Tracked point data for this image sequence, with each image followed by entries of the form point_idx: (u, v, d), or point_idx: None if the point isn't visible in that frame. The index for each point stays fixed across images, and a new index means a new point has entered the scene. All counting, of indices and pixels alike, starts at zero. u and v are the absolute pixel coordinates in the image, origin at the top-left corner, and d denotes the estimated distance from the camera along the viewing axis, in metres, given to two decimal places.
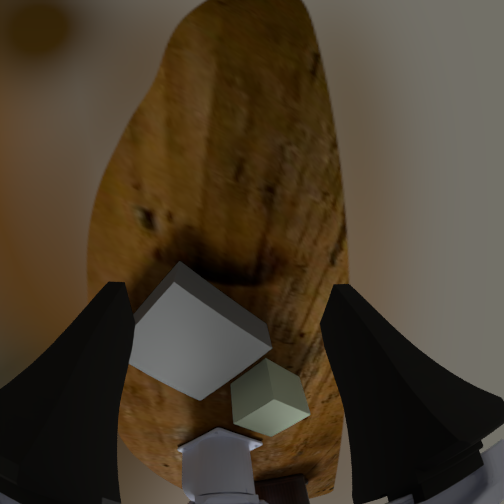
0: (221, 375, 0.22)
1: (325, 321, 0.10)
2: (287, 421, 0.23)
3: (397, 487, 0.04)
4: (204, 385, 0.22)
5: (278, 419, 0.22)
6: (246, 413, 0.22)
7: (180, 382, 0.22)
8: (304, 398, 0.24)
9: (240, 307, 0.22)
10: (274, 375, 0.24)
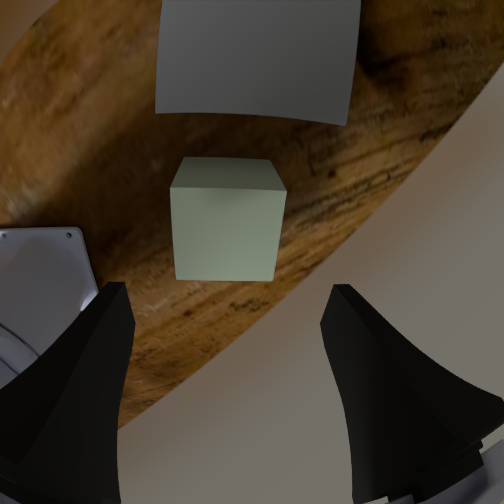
0: (248, 93, 0.11)
1: (325, 321, 0.10)
2: (235, 264, 0.14)
3: (397, 487, 0.04)
4: (203, 87, 0.11)
5: (234, 245, 0.13)
6: (210, 186, 0.12)
7: (182, 52, 0.10)
8: None
9: None
10: None
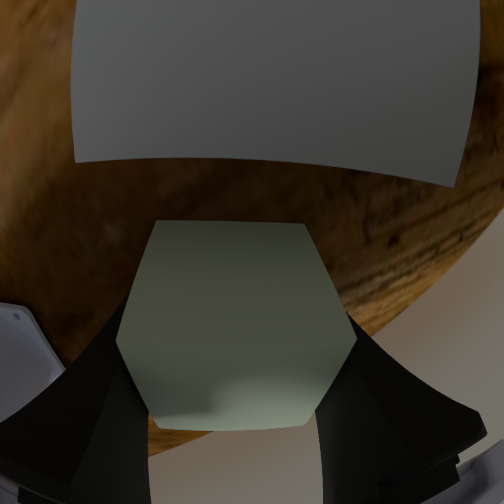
0: (283, 112, 0.05)
1: None
2: (250, 419, 0.08)
3: (361, 500, 0.04)
4: (174, 97, 0.04)
5: (250, 405, 0.07)
6: (200, 336, 0.05)
7: (124, 18, 0.03)
8: None
9: None
10: None
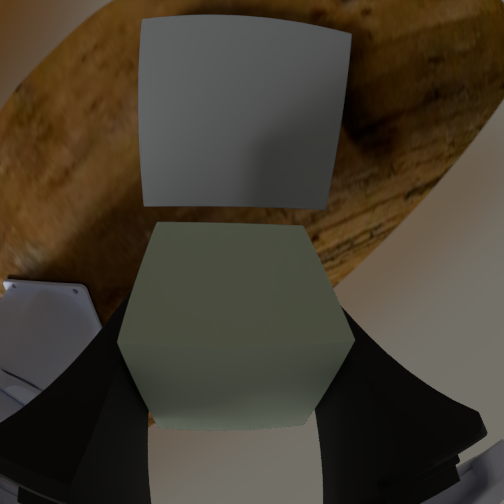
0: (230, 187, 0.13)
1: None
2: (250, 419, 0.08)
3: (361, 500, 0.04)
4: (186, 183, 0.13)
5: (249, 405, 0.07)
6: (201, 338, 0.05)
7: (163, 147, 0.12)
8: None
9: None
10: None
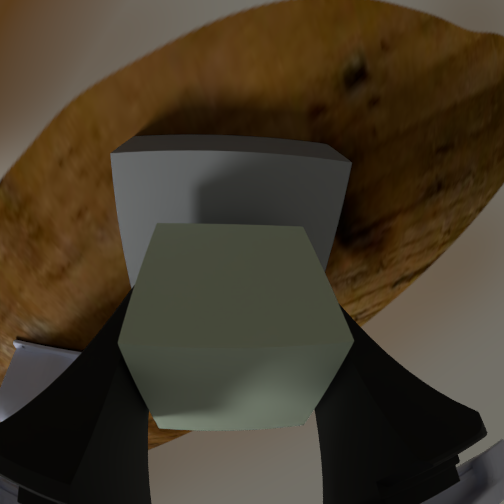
0: None
1: None
2: (250, 419, 0.08)
3: (361, 500, 0.04)
4: None
5: (249, 405, 0.07)
6: (201, 339, 0.06)
7: None
8: None
9: None
10: None
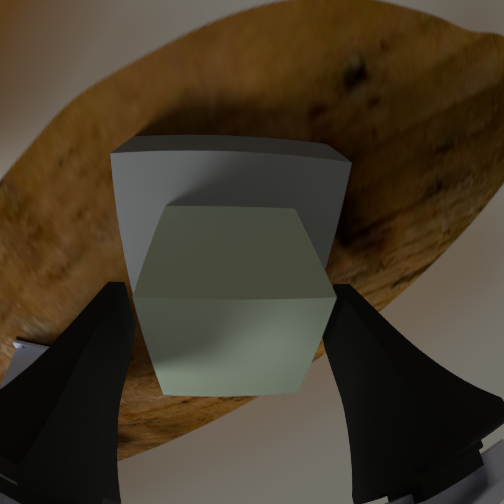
0: None
1: None
2: (247, 382, 0.09)
3: (397, 487, 0.04)
4: None
5: (247, 365, 0.08)
6: (204, 292, 0.07)
7: None
8: None
9: None
10: None
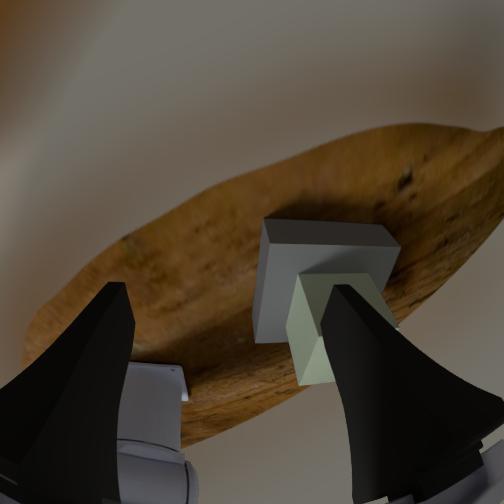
0: None
1: (325, 321, 0.10)
2: None
3: (397, 487, 0.04)
4: (285, 332, 0.21)
5: None
6: None
7: (274, 317, 0.20)
8: None
9: None
10: None
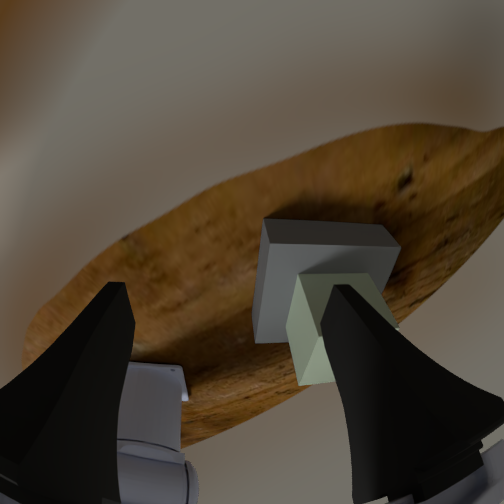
0: None
1: (325, 321, 0.10)
2: None
3: (397, 487, 0.04)
4: (285, 332, 0.21)
5: None
6: None
7: (274, 317, 0.20)
8: None
9: None
10: None
